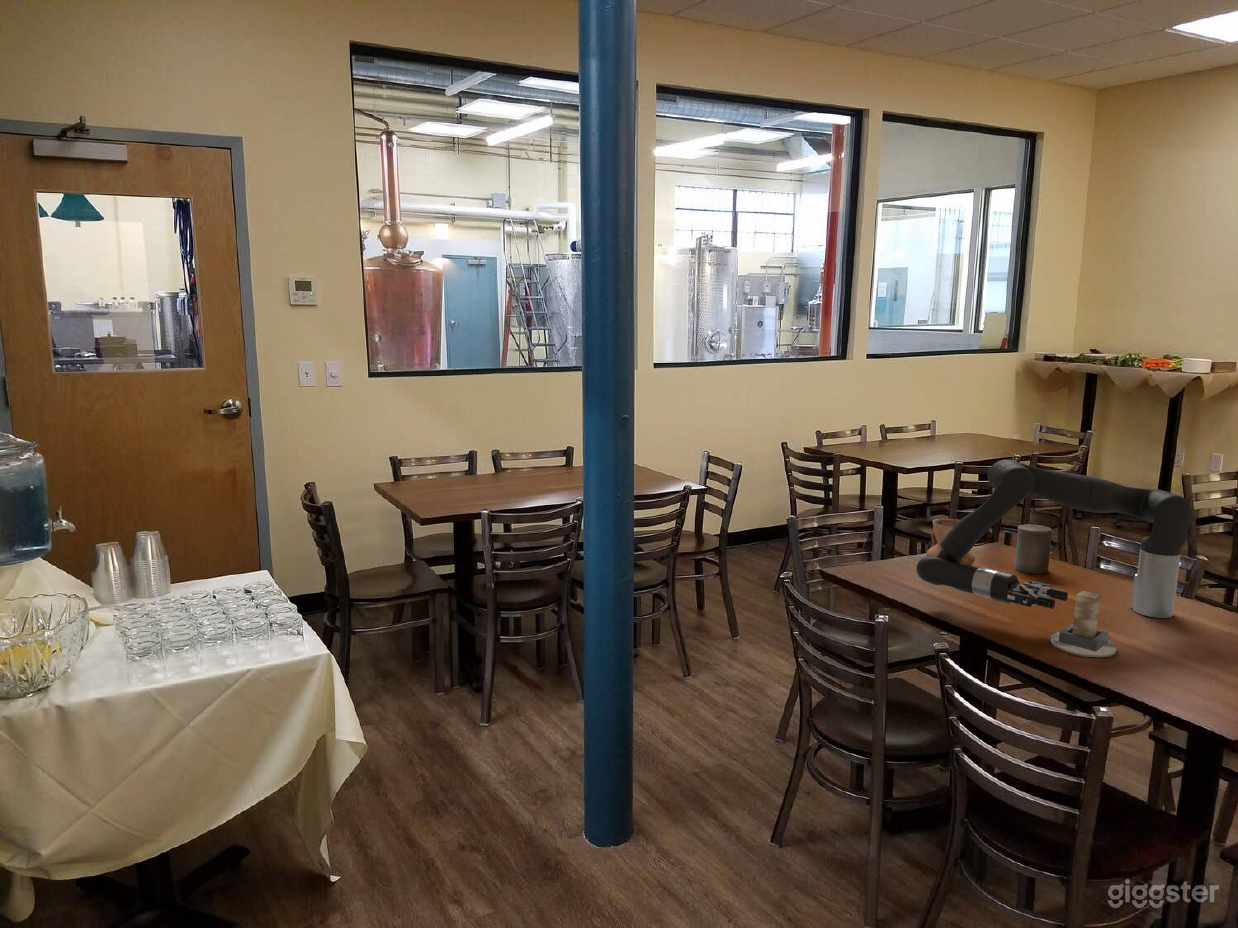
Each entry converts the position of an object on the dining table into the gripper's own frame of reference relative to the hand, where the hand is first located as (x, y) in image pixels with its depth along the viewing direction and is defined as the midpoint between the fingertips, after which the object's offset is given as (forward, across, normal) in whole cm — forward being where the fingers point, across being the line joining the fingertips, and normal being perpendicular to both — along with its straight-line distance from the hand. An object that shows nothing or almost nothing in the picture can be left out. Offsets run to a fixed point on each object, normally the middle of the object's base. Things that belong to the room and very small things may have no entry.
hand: (1061, 600), depth 212 cm
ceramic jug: (-48, +42, +11) cm, 65 cm away
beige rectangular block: (+6, 0, +9) cm, 11 cm away
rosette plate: (+6, 0, +10) cm, 12 cm away
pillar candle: (-28, +57, +10) cm, 64 cm away
